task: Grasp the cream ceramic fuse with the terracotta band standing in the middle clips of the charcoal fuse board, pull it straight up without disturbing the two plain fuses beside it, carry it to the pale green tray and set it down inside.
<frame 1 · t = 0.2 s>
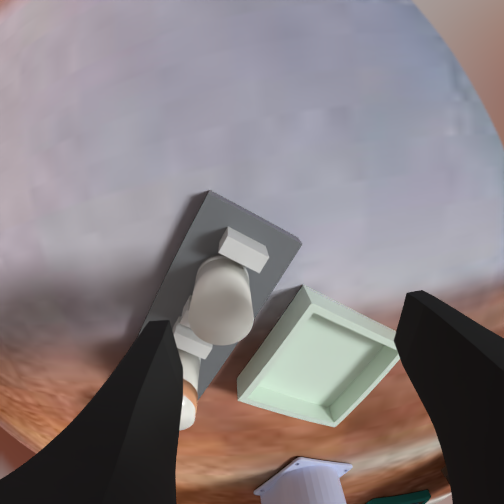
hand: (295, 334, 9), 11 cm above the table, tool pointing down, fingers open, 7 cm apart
fuse board: (180, 344, 21), on the table
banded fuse: (178, 354, 20), point 1 cm above the table, touching fuse board
tray: (318, 356, 23), on the table
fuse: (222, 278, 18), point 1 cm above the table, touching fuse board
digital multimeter: (389, 501, 38), on the table
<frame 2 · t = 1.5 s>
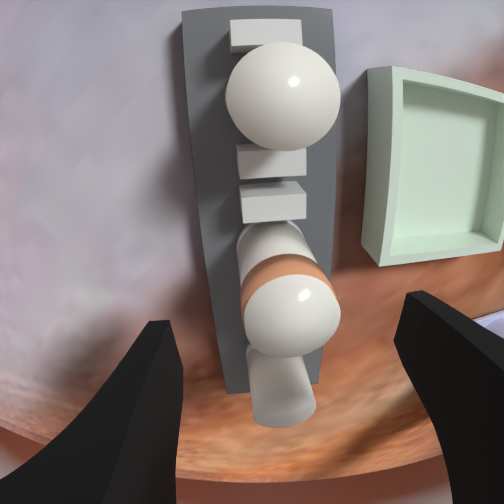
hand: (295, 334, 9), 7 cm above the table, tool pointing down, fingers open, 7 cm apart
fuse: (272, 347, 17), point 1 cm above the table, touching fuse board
fuse board: (266, 234, 15), on the table
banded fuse: (269, 244, 14), point 1 cm above the table, touching fuse board
tray: (438, 162, 14), on the table
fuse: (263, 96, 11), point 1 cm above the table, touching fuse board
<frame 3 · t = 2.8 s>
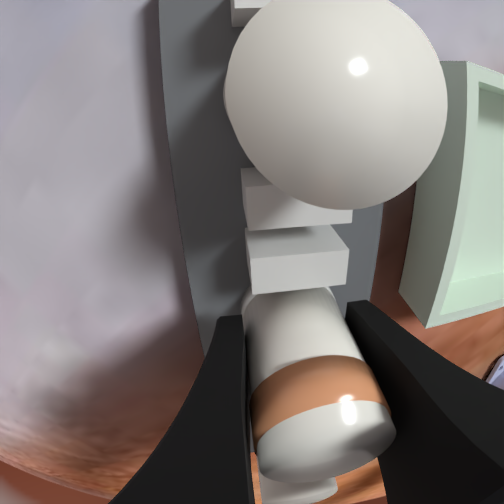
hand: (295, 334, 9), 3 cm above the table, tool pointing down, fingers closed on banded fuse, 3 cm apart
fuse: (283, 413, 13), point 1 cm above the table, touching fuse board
fuse board: (280, 286, 11), on the table
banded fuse: (286, 306, 10), point 1 cm above the table, touching fuse board, gripper
tray: (494, 188, 10), on the table
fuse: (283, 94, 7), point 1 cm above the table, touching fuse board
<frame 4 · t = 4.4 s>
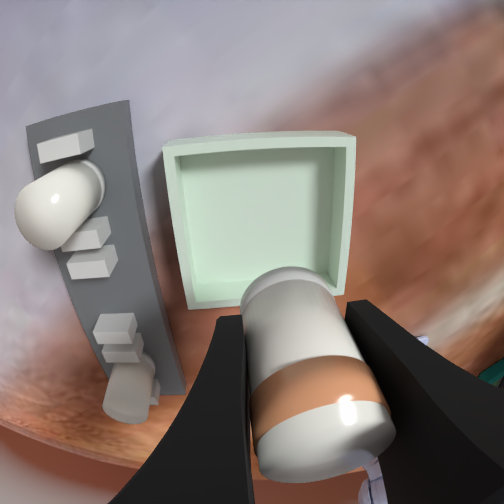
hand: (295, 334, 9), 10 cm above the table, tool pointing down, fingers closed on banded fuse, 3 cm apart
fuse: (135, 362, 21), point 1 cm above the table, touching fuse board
fuse board: (113, 278, 19), on the table
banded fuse: (286, 306, 10), point 8 cm above the table, touching gripper
tray: (260, 212, 18), on the table
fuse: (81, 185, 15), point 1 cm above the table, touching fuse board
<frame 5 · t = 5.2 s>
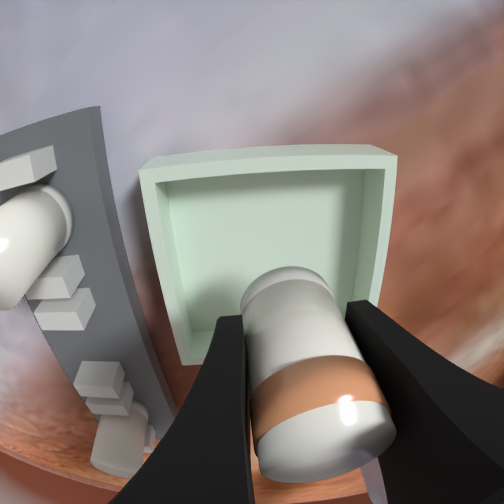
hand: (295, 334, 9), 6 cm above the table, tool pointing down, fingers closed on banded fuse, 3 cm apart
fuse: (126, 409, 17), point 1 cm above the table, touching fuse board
fuse board: (94, 321, 15), on the table
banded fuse: (286, 306, 10), point 4 cm above the table, touching gripper
tray: (269, 247, 14), on the table
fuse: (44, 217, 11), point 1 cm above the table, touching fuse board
when the fingers open (3 cm above the table, at t = 6.0 s): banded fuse stays where it is, resting on tray.
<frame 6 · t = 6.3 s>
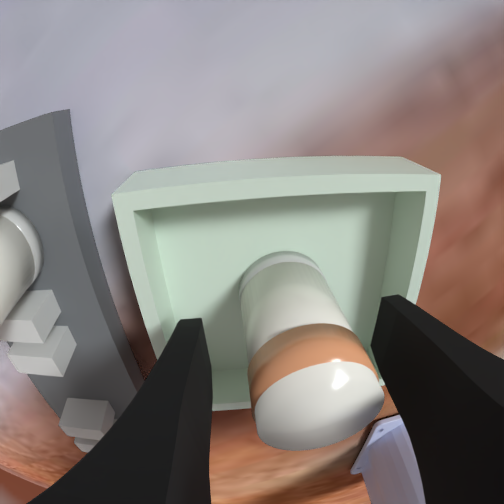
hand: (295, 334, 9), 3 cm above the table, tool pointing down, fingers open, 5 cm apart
fuse board: (78, 356, 13), on the table
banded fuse: (281, 289, 11), point 1 cm above the table, touching tray
tray: (279, 280, 12), on the table
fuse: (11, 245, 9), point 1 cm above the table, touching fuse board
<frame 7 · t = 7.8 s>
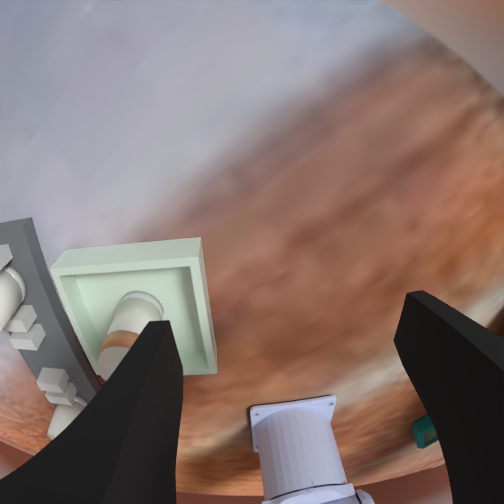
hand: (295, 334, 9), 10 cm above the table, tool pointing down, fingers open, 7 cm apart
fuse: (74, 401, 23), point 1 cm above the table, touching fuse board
fuse board: (49, 342, 21), on the table
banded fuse: (141, 310, 20), point 1 cm above the table, touching tray
tray: (142, 304, 20), on the table
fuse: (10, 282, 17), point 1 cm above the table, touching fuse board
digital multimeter: (454, 404, 34), on the table
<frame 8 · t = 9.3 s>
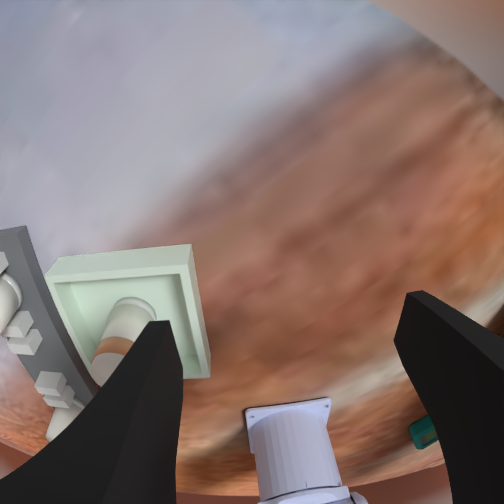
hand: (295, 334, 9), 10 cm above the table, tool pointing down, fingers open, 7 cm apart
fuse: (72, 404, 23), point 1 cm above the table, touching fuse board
fuse board: (46, 346, 21), on the table
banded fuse: (134, 315, 20), point 1 cm above the table, touching tray
tray: (136, 309, 20), on the table
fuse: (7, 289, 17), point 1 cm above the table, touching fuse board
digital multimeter: (452, 405, 34), on the table
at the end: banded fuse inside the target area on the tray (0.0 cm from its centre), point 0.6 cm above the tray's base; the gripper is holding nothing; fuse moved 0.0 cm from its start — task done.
